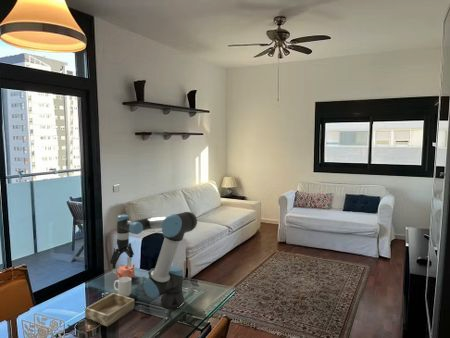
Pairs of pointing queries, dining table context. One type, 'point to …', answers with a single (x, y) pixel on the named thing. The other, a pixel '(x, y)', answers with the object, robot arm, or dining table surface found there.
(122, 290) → the cup
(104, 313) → the wooden tray
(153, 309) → the dining table surface
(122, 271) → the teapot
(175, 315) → the dining table surface
